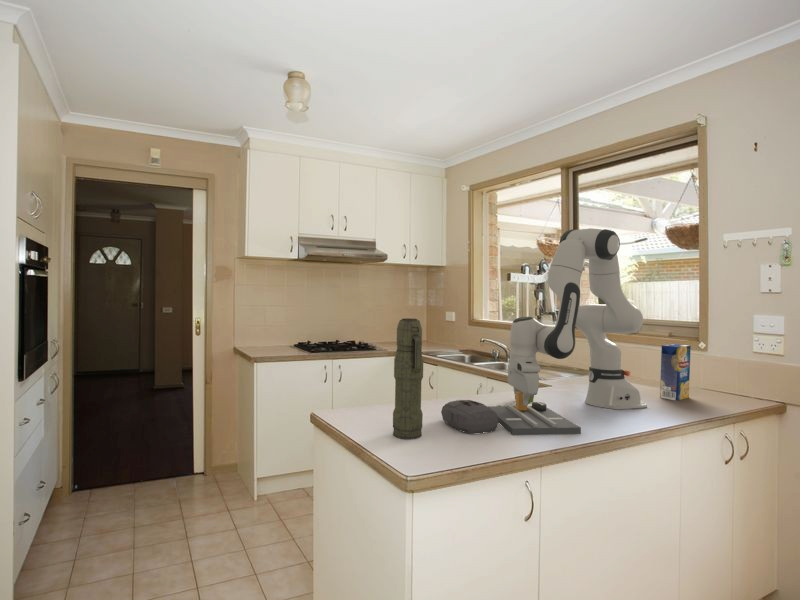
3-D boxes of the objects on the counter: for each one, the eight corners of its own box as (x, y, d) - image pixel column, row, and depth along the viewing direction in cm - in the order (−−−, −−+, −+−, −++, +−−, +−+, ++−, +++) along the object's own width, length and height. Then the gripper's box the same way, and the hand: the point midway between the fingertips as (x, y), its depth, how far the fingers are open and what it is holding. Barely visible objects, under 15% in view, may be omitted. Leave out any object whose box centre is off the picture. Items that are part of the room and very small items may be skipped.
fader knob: (523, 408, 178) (524, 390, 177) (527, 410, 175) (527, 392, 174) (515, 408, 177) (515, 390, 177) (518, 410, 174) (518, 392, 174)
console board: (543, 411, 183) (544, 399, 183) (580, 433, 156) (581, 420, 155) (485, 411, 181) (485, 400, 180) (512, 435, 153) (512, 421, 153)
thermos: (407, 442, 143) (409, 320, 142) (384, 432, 153) (386, 318, 152) (431, 437, 149) (433, 319, 148) (407, 428, 158) (409, 317, 157)
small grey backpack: (504, 431, 157) (469, 416, 175) (505, 405, 157) (470, 392, 175) (463, 437, 151) (431, 420, 169) (464, 409, 150) (432, 395, 169)
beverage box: (688, 397, 212) (690, 345, 211) (676, 400, 205) (678, 347, 205) (672, 394, 217) (673, 343, 217) (659, 397, 211) (661, 345, 210)
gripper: (503, 358, 185) (503, 396, 186) (524, 368, 165) (523, 409, 165) (520, 358, 186) (519, 395, 187) (542, 367, 166) (541, 409, 166)
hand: (521, 402), depth 176 cm, fingers open, 5 cm apart
